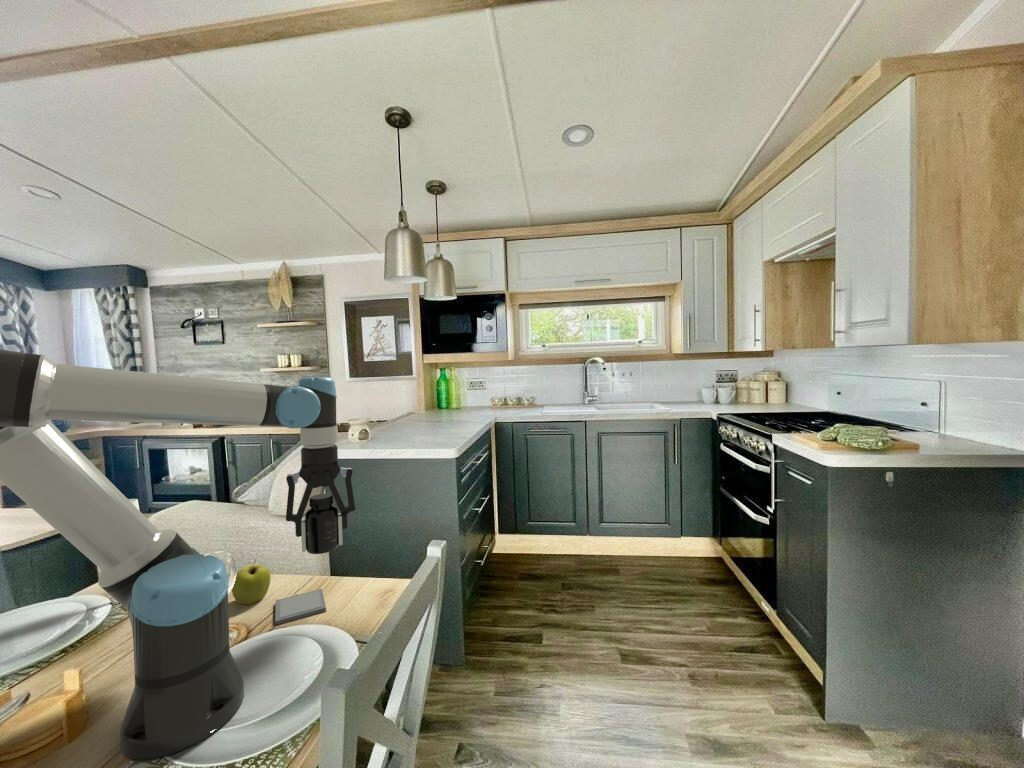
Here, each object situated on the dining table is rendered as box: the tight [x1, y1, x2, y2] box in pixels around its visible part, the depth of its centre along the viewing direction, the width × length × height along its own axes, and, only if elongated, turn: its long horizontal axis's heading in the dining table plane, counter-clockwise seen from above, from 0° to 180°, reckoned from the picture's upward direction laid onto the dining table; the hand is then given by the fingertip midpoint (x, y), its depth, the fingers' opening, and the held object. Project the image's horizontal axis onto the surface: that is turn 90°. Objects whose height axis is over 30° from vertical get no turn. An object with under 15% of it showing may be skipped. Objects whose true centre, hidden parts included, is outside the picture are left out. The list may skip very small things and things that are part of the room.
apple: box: [231, 558, 271, 606], centre depth 99 cm, size 8×8×10 cm
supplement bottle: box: [304, 493, 340, 555], centre depth 93 cm, size 7×7×12 cm
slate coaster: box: [274, 588, 327, 626], centre depth 96 cm, size 10×10×1 cm
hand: (322, 546), depth 93 cm, fingers closed on supplement bottle, 7 cm apart
